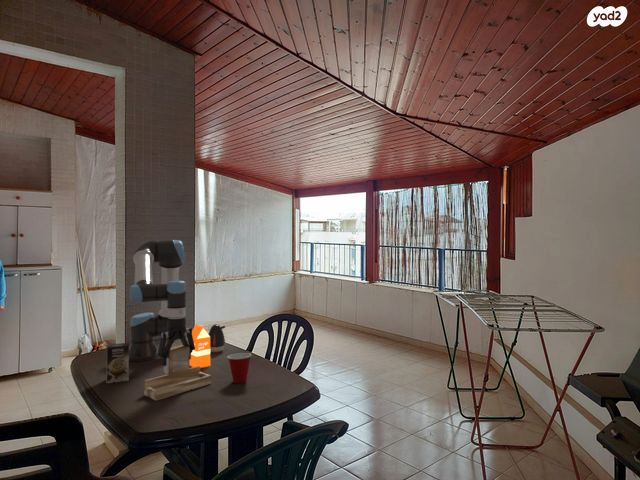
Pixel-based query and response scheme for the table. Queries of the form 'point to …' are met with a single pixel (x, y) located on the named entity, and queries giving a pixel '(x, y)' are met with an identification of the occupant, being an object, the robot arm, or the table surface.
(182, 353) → the wooden block
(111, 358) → the coffee box
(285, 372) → the table surface
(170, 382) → the wooden tray
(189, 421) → the table surface
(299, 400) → the table surface
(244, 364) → the plastic cup
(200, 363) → the orange juice
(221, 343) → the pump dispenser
